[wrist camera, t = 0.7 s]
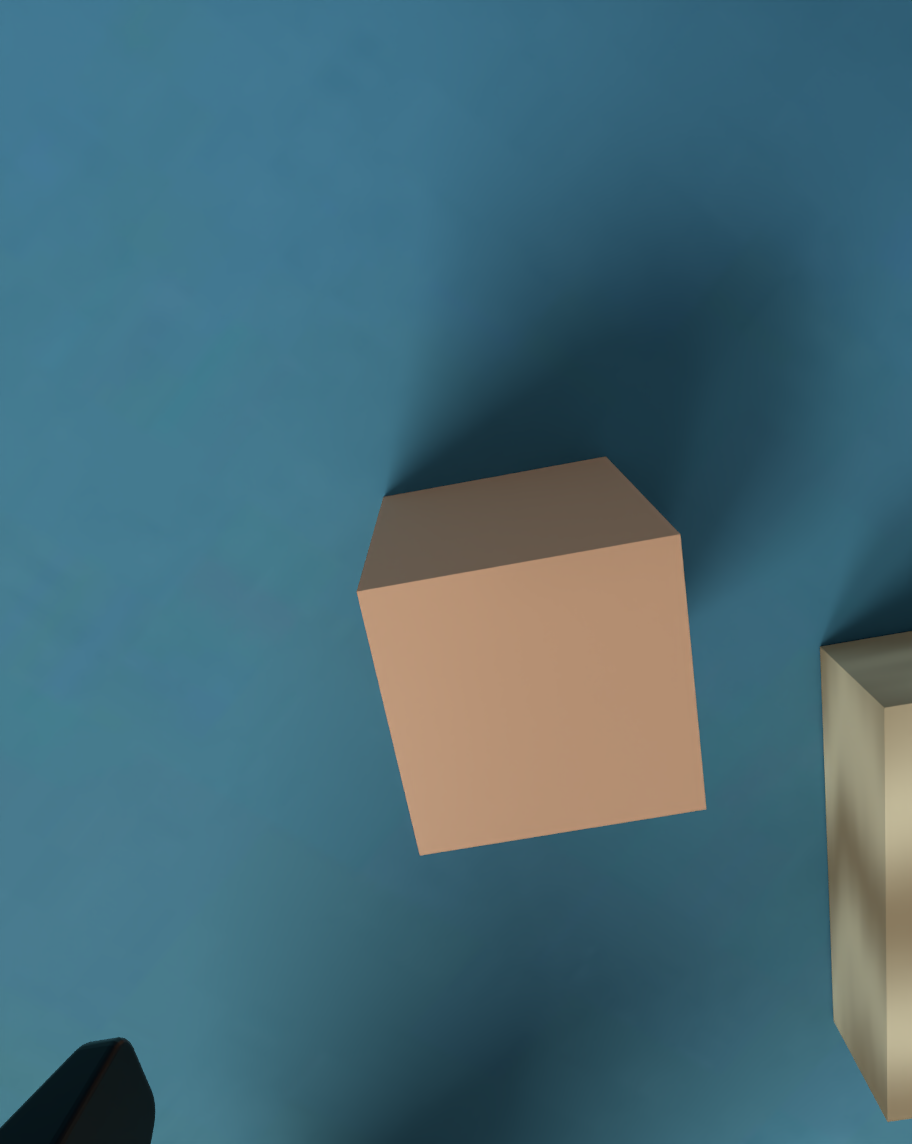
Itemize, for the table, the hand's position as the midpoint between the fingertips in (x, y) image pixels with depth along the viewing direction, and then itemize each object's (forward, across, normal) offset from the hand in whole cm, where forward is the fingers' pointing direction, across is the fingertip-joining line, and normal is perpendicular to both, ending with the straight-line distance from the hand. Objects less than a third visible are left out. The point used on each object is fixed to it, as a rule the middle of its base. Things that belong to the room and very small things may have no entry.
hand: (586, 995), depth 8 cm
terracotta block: (+12, 0, 0) cm, 12 cm away
